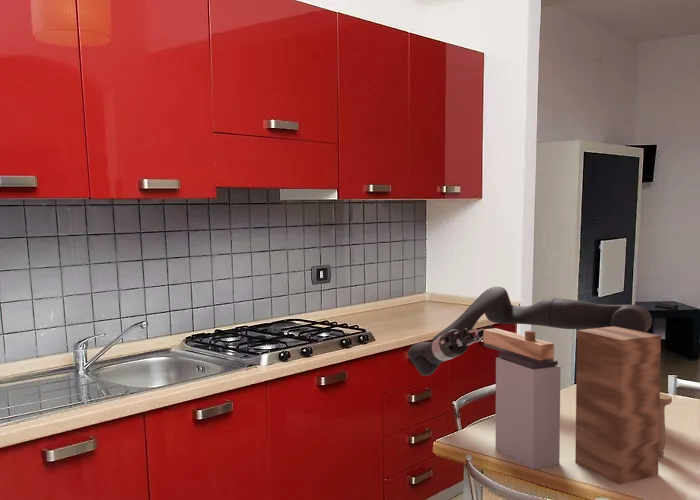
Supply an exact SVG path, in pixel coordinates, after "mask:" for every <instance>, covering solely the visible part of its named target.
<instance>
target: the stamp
mask: <svg viewBox="0 0 700 500" xmlns="http://www.w3.org/2000/svg"><path fill="white" fill-rule="evenodd" d="M483 347H486V348H489V349H492V350H496V351H498V352H500V353H501V352H504V353H508V354H511V355H514V356H517V357H520V358H523V359H527V360H530V361H533V362H536V363H539V364H541V363H548V362H553V360H555V343H553V342H550V341H546V340H542V339H538V338H536V331H534V330H524V335H523V334H519V333H515V332H512V331H507V330H504V329H500V328H496V327H493V329H484V340H483Z"/></svg>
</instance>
